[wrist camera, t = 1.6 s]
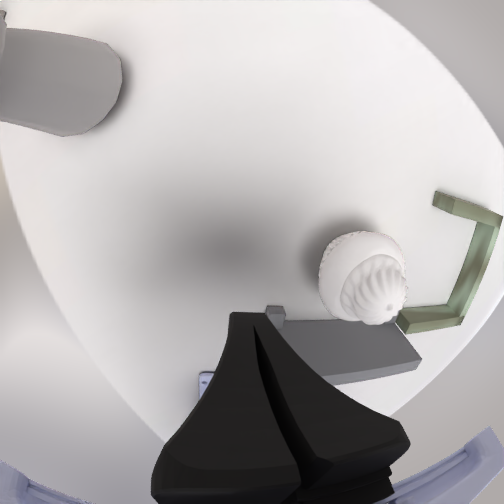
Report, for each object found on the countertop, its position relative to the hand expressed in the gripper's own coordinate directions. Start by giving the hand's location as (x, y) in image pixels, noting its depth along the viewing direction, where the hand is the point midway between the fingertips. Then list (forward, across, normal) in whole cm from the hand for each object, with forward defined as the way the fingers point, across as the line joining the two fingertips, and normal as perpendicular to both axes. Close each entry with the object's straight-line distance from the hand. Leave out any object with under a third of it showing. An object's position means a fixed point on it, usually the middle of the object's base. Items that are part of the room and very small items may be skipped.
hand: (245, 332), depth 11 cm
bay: (+8, -20, 0) cm, 22 cm away
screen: (+8, -9, +7) cm, 14 cm away
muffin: (+8, -8, 0) cm, 12 cm away
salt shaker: (+9, +10, -10) cm, 16 cm away
